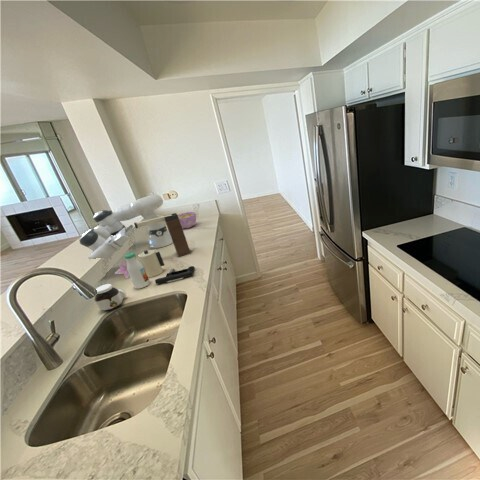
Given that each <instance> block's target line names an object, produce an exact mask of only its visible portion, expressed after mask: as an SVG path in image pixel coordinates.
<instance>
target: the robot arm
mask: <svg viewBox="0 0 480 480" xmlns="http://www.w3.org/2000/svg"><path fill="white" fill-rule="evenodd" d="M163 204H164V200H163V198H162V196H160V195H159V194H149V195H147V196H144V197H141V198H138V199H136V200H134V201H132V202H129V203H127V204H124V205H122V206H120V207H118V208H117V209H115V210H114V211H112V210H107V209H102V210H99V211H97V212H96V213H95V214H94V216H93V217H92V218H93V220H94V222H95V223H97V224H98V225H99V226H96V227H94V228H93V227H92V228H89V229H88V230H87V231H86V232H85V233H83V234H82V235H81V236H80V238H79V244H80V245H82V246H84V247H86V248H88V249H89V250H91V251H92V252H91V253H90V254H89V255H88V256H87V258H88V259H89V260H90V259H96V258H104V259H106V261H108V260H109V259H110V258H111V257H112V256H113V255H114V254H115V253H116V252H118V251H119V250H121V249H122V248H123V246H124V245H125V243H126V242H128V240H129V239H130V235H131V234H132V233H133V232H134V231H135V229H134V228H135V225H134V224H130V225H129V226H127V227H126V226H125V225H124V224H123V223H122V222H126V221H129V220H133V219H135V218H137V217H142V219H143V221H146V220H150V219H154V218H158V217H162V215H160V214H158V213H156V212H155V211H156V210H157V209H159V208H160V207H162V205H163ZM146 227H147V228H148V234H149V235H150V236H149V237H148V238H149V239H148V240H149V244H150V245H149V249H153V248H154V249H159V248H163V247H168V246H169V245H172V244H173V241H172V239H171V236H170V233H169V230H168V227H167V225H166V224H165V221H163V222H159V223H155V224H151V225H147V226H146ZM111 235H113V236H111ZM114 235H116V236H114Z"/></svg>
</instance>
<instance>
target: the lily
mask: <svg viewBox="0 0 480 480" xmlns="http://www.w3.org/2000/svg"><path fill="white" fill-rule="evenodd" d="M117 266H118V267H119V269H116V271H115V272H114V275H123V274H124V277H125V279H128V278H130V276H129V273H128V271H127V260H126V259H125V262H124V263H121V262H117Z"/></svg>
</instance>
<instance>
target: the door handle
mask: <svg viewBox="0 0 480 480" xmlns="http://www.w3.org/2000/svg"><path fill="white" fill-rule="evenodd" d="M194 271H195V266H193V265H191V266H188V267H187V268H185V269H180V270H175V268H171V269H170V270H169V272H168V273H166V274H165V276H163V277H160V278H157V279H156V278H155V279H154V282H155V284H156V285H160V284H164V283H168V284H169V283H173V282H175V281H179V280H183V279H185V278H188V277H192V276H194Z"/></svg>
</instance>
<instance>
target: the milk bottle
mask: <svg viewBox="0 0 480 480" xmlns="http://www.w3.org/2000/svg"><path fill="white" fill-rule="evenodd" d="M124 258H125V261H126V260H127V271H128V273H129V278H130V280H131V282H132V285H133V287H134V288H135V289H136V290H137V289H138V290H139V289H143V288H145V287H147V286H149V285H150V284H151V281H150V277H148V276H147V274H146V271H145V269H144V267H143V265H142V264H141V262H139V261H138V260H137V259H138V258H137V257H136V254H135V252H129V253H126V254H125V255H124Z"/></svg>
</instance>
